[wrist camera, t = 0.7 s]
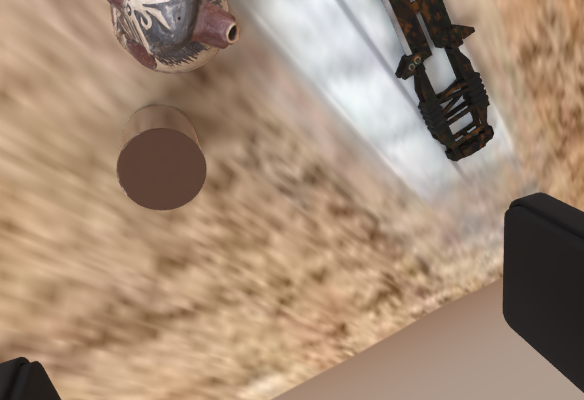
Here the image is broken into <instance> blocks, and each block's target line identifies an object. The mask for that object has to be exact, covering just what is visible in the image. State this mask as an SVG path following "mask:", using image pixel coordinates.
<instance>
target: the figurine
mask: <svg viewBox="0 0 584 400" xmlns="http://www.w3.org/2000/svg"><path fill="white" fill-rule="evenodd" d="M107 1H108V2H109V3H110V4H111V14H112V23H113V26H114V34H115V35H116V37H117V39H118V40H119V42H120V43H121V45H122V46H123V47H124V48H125V49H126V50H127V51H128V52H129V53H130V54H131V55H132V56H133V57H134V58H135V59H137V60H138V61H139V62H140V63H141V64H142V65H144V66H146V67H148V68H150V69H152V70H154V71H157V72H163V73H182V72H188V71H192V70H194V69H197V68H199V67H201V66H203V65H205V64H206V63H207V62H208V61H209V60H210V59H211V58H212V57H214V56H215V55H216V53H217V51H218V50H219V48H222V49H224V48H226V47H227V46H228V44H231V45H232V44H234V43H235V42H237V41H238V38H239V34H240V29H239V27H238V24H237V23H236V21H235V17H234V16H232V15H231V14H230V13H228V3H227V0H107Z"/></svg>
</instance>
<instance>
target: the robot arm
mask: <svg viewBox="0 0 584 400" xmlns="http://www.w3.org/2000/svg"><path fill="white" fill-rule="evenodd" d="M503 314H504V318H505V320H506V322H507V323H508V325H509V326H510V327H511V328H512V329H513V330H514V331H515V332H516V333H518V334H519V335H520V336H521V337H522V338H523V339H524V340H525V341H527V342H528V343H529V344H530V345H531V346H532V347H533V348H534V349H535V350H537V351H538V352H539V353H540V354H541V355H542V356H543V357H544V358H546V359H547V360H548V361H549V362H550V363H551V364H552V365H553V366H554V367H556V368H557V369H558V370H559V371H560V372H561V373H562V374H563V375H564V376H565V377H567V378H568V379H569V380H570V381H571V382H572V383H573V384H574V385H575V386H577V387H578V388H579V389H580V390H581V391H582V392H583V393H584V212H582V211H580V210H578V209H576V208H574V207H572V206H570V205H568V204H566V203H564V202H562V201H560V200H558V199H555V198H553V197H551V196H549V195H547V194H545V193H541V192H540V193H535V194H532V195H529V196H525V197H522V198H519V199H516V200H514V201H513V202H512V203H511V204H510V207H509V209H508V210H507V211H506V213H505V217H504V266H503ZM0 400H61V398H60V397H59V395H58V393H57V391H56V389H55V388H54V386H53V384H52V382H51V380H50V379H49V377H48V375H47V373H46V371H45V370H44V368H43V366H42V365H41V363H39V362H38V361H34V362H31V363H30V362H29V360H28V359H26V358H25V357H19V358H16V359H13V360H10V361H7V362H3V363H0Z"/></svg>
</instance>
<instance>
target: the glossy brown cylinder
mask: <svg viewBox="0 0 584 400" xmlns="http://www.w3.org/2000/svg"><path fill="white" fill-rule="evenodd" d="M117 177H118V180H119V183H120V185H121V187H122V189H123V191H124V192H125V193H126V194H127V196H128V197H129V198H130V199H132V200H133V201H134V202H136V203H137V204H139V205H141V206H143V207H146V208H149V209H153V210H171V209H175V208H178V207H181V206H183V205H185V204H187V203H188V202H190V201H191V200H192V199H193V198H194V197H195V196H196V195H197V194H198V193H199V191H200V190H201V188H202V186H203V184H204V181H205V177H206V162H205V158H204V155H203V152H202V150H201V147H200V144H199V141H198V139H197V136H196V133H195V130H194V127H193V125H192V123H191V122H190V120H189V119H188V118H187V117H186V116H185V115H184V114H183V113H182V112H180V111H179V110H177V109H175V108H173V107H170V106H165V105H151V106H147V107H144V108H142V109H140V110H138V111H137V112H136V113H134V114H133V115H132V116H131V117H130V118H129V120H128V121H127V123H126V125H125V128H124V131H123V136H122V141H121V146H120V151H119V156H118V161H117Z"/></svg>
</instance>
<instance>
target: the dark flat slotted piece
mask: <svg viewBox="0 0 584 400" xmlns="http://www.w3.org/2000/svg"><path fill="white" fill-rule="evenodd" d="M382 2H383V4H384V6H385V8H386V11H387V13H388V15H389V17H390V19H391V22H392V24H393V26H394V28H395V31H396V33H397V35H398V37H399V40H400V42H401V44H402V46H403V49H404V51H405V53H406V54H405V55H404V56H402V58H401V61H400V63H399V66H398V68H397V71H396V73H395V74H396V76H397V78H401V77H402V79H404V80H406V79H407V78H409V77H410V76H412V75H414V85H415V91H416V94H417V96H418V98H419V100H420V102H419V106H418V108H419V109H420V110H421V111H420V113H421V114H422V115H423V119H424V120H425V121H426V122H425V123H426V125H428V127H427V128H428V130H430V132H431V134H432V136H433V138H434V139H437V140H438V141H439V142H440V143H441V144H443V145H445V146H446V148H447V151H445V153H446V155H447V158H448V159H450V160H452V161H458V160H460V159H461V158H464V157H467V156H470V155H472V154H473V153H475V152H476V151H478V150H480V149H481V148H483V147H484V146H486V143H487V142H488V141H489V140H491V139H492V138H493V135H494V131H493V128H492V126H490V125H488V123H487V106H489V105H490V104H489V101H488V95H486V93H487V92H486V90H484V84H482V79H481V78H480V77H479V76H480V73H478V72H474V70H473V68H472V65H471V62H470V60H469V59H468V58H467V57H466V56H465V55H463V54H462V53H461V52H460V50H459V48H458V47H459V46H461V45H462V44H463V40H462V39H465V38H466V37H468V36H469V35H471V34H472V33H473V32H475V29H474V27H468V26H461V25H452V24H451V21H450V19H449V16H448V13H447V11H446V8H445V6H444V3H443V0H415V1H414V2H413V3H411V2H410V0H382ZM419 11H420V13H421V15H422V18H423V20H424V23H425V25H426V27H427V30H428V32H429V35H430V37H431V40H433V43H434V45H435V47H437V48H443V47H444V48H445V51H446V53H447V56H448V58H449V61H450V63H451V66H452V68H453V71H454V73H455V76H456V78H457V79H456V80H455V81H454V82H453V83H452V84H451V85H450V86H449V87H448V88H447V89H446V90H445V91H443V92H441V93H439V94H437V95H435V93H434V90H433V88H432V86H431V84H430V81H429V79H428V77H427V74H426V72H425V70H426V69H425V67H424V64H423V62H424V60H425V59H427V58H428V57H430V56H431V55H432V52H431V50H430V48H429V45H428V43H427V40H426V38H425V35H424V33H423V31H422V28H421V26H420V23H419V21H418V19H417V16H416V13H418V12H419ZM460 88H461V90H459V91H457V92H455V93H453V94H451V93H452V92H453V91H455V90H457V89H460ZM450 94H451V95H450ZM462 95H463V99H465V102H463V103H462V104H460V105H459V106H457V107H456V108H454V109H453V110H452V111H450V112H449V113H447V112H448V111H449V110H450V108H451V107H452V106H453V105H454V104H455V103H456V102H457V101H458V100H459V98H460V97H461V96H462ZM438 98H439V99H438ZM452 98H453V99H452ZM437 99H438V100H437ZM450 99H452V100H451V102H450V103H449V104H448V105H447V106H446V107H445V108H444V109H443V108H442V106H440V104H442V103H444V102H446V101H448V100H450ZM465 106H468V107H467V108H466V109H464V110H463V111H461V112H460V113H459V114H457V115H456V116H454V117H453V118H451V119H450V120H449V121H447V119H448V118H449V117H451V116H452V115H454V114H455V113H457V112H458V111H459V110H461V109H462V108H464V107H465ZM442 109H443V110H442ZM468 112H470V113H471V116H472V118H473V122H472V123H471V124H469V125H468V126H466V127H465V128H463V129H462V130H460V131H459V132H458V133H456V134H455V135H453V134H452V132H451V130H450V127H449V126H450V125H451V124H452V123H454V122H455V121H457V120H458V119H460V118H461V117H462V116H464V115H465V114H467V113H468ZM446 113H447V114H446ZM445 114H446V115H445ZM479 119H480V121H481V123H480V121H479ZM474 126H476V128H475V129H474V130H472V131H471V132H470V133H468V132H467V131H468V130H470V129H471V128H472V127H474ZM477 132H478V133H479V134H478V135H476V136H473V135H475V134H476V133H477ZM461 135H463V136H464V137H462V138H461V139H459V140H458V141H457V142H456V141H455V139H457V138H458V137H460V136H461ZM472 136H473V137H472ZM470 137H471V138H470ZM467 139H468V140H467Z"/></svg>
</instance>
